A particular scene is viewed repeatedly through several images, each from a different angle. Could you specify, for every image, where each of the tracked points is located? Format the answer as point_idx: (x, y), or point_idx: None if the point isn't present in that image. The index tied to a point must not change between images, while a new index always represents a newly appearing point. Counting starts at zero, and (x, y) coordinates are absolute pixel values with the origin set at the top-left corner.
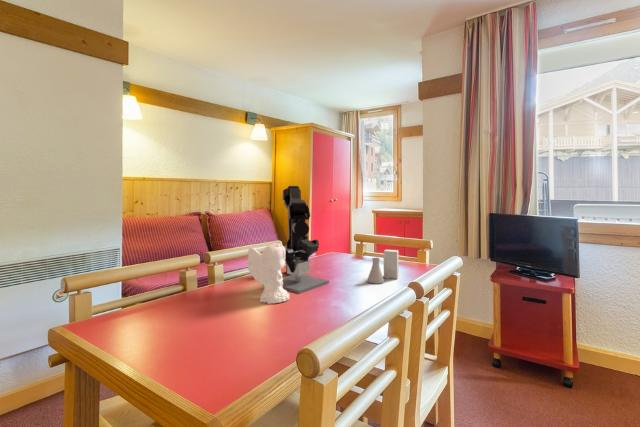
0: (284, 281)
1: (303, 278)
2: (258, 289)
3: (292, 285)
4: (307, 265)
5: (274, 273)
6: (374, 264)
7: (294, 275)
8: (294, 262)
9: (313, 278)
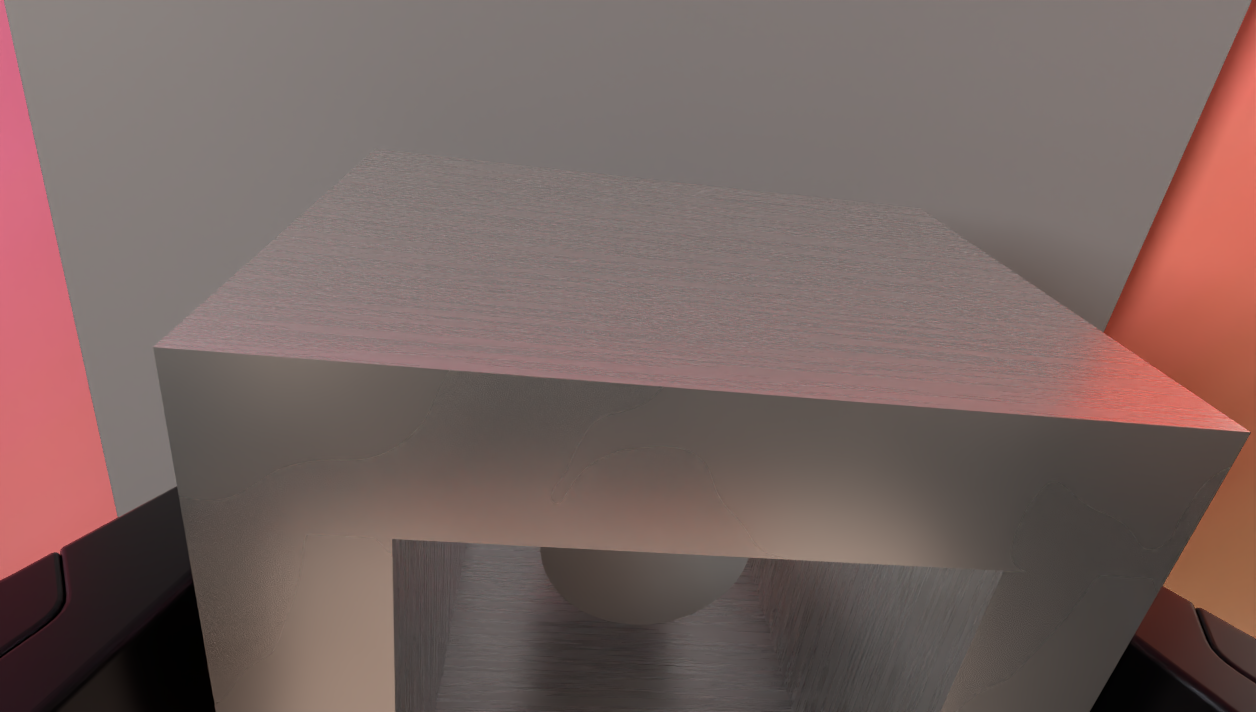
0: None
1: None
2: (1194, 598)
3: (967, 225)
4: (424, 261)
5: None
6: None
7: None
8: (1203, 691)
9: (154, 145)
